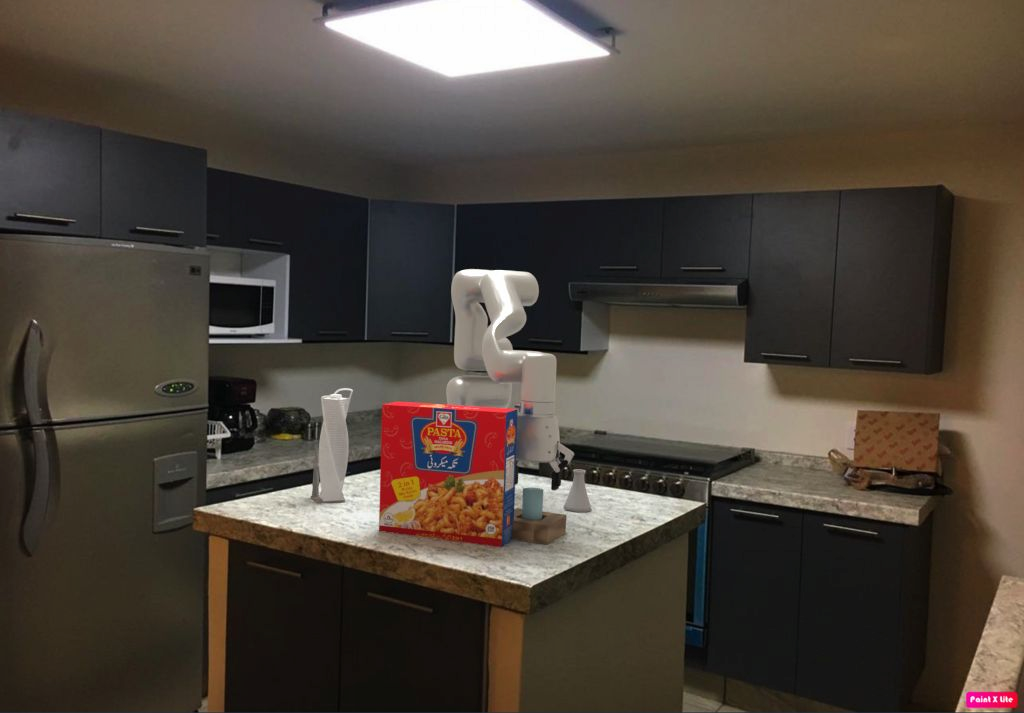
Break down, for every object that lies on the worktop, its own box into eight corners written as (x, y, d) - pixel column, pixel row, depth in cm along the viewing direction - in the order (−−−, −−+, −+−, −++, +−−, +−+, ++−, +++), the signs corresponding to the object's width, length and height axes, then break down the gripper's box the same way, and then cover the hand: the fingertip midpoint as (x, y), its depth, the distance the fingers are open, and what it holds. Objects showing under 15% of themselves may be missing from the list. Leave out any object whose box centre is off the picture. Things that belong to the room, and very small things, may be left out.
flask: (590, 514, 209) (592, 473, 209) (561, 511, 211) (563, 471, 210) (593, 508, 216) (595, 469, 216) (565, 505, 218) (567, 466, 217)
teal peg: (517, 535, 185) (519, 490, 184) (525, 530, 189) (527, 486, 189) (536, 538, 183) (539, 492, 183) (544, 533, 187) (546, 489, 187)
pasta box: (378, 533, 183) (382, 404, 182) (394, 525, 190) (398, 401, 189) (501, 547, 175) (506, 412, 173) (513, 538, 182) (517, 409, 181)
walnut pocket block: (495, 536, 183) (496, 518, 183) (516, 525, 194) (516, 507, 194) (547, 544, 178) (548, 525, 178) (565, 532, 189) (566, 514, 189)
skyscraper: (343, 495, 216) (348, 386, 215) (352, 502, 209) (356, 389, 208) (310, 497, 212) (314, 386, 211) (317, 504, 205) (322, 389, 204)
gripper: (494, 407, 185) (491, 485, 185) (569, 413, 178) (566, 494, 178) (507, 405, 192) (504, 480, 192) (580, 411, 185) (577, 488, 185)
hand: (534, 487), depth 185 cm, fingers open, 9 cm apart
